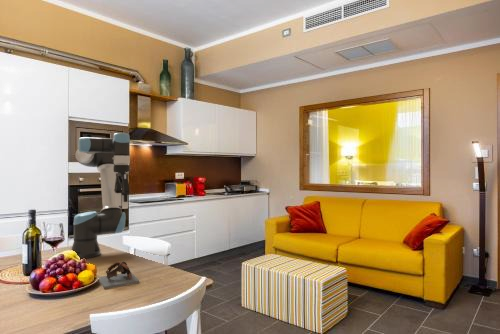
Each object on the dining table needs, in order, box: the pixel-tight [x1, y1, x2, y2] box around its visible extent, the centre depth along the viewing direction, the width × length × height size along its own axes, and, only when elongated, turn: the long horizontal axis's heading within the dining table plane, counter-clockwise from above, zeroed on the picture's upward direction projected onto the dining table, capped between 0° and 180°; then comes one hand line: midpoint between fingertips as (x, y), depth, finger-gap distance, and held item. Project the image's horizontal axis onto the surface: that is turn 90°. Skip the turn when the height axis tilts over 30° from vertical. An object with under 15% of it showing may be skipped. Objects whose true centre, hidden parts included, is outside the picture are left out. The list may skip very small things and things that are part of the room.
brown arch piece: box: [105, 261, 132, 280], centre depth 149 cm, size 12×10×8 cm
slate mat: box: [97, 272, 141, 290], centre depth 148 cm, size 14×14×1 cm
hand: (121, 207), depth 172 cm, fingers open, 13 cm apart
